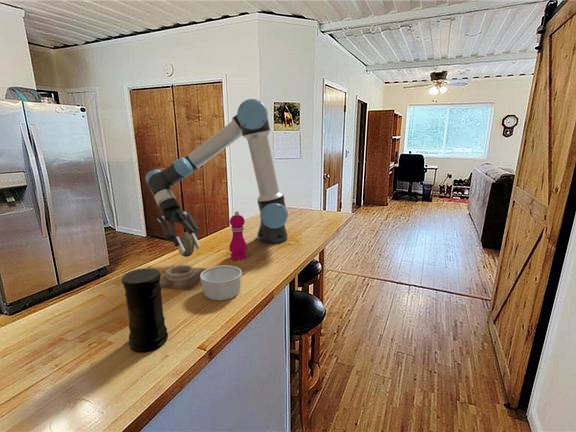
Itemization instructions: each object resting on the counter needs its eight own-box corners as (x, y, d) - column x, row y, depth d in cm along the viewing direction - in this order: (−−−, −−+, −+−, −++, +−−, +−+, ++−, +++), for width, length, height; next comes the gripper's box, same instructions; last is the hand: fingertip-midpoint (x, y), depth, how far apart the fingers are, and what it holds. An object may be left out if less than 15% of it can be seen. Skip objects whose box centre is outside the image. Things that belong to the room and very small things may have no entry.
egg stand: (207, 272, 118) (206, 263, 117) (190, 289, 104) (189, 280, 104) (172, 269, 120) (171, 261, 119) (151, 286, 107) (150, 277, 106)
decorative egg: (180, 260, 122) (177, 235, 119) (178, 255, 127) (176, 231, 124) (196, 257, 124) (194, 233, 122) (193, 252, 129) (191, 229, 127)
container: (137, 331, 82) (128, 267, 78) (172, 329, 83) (166, 266, 79) (122, 354, 74) (112, 284, 69) (162, 352, 74) (154, 282, 70)
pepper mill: (243, 261, 128) (242, 214, 123) (227, 260, 129) (224, 213, 124) (249, 255, 135) (248, 209, 130) (233, 253, 136) (231, 209, 131)
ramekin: (198, 287, 106) (197, 268, 105) (236, 280, 111) (236, 262, 110) (204, 306, 94) (203, 285, 93) (247, 298, 99) (246, 277, 98)
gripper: (185, 204, 138) (208, 248, 131) (142, 212, 125) (165, 261, 118) (191, 194, 133) (215, 239, 126) (146, 201, 120) (170, 251, 113)
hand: (191, 250), depth 122 cm, fingers closed on decorative egg, 6 cm apart
